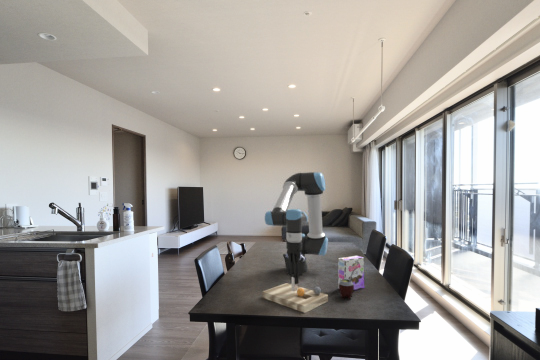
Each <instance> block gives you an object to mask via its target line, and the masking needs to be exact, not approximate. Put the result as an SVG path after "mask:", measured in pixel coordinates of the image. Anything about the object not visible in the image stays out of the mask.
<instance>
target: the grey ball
mask: <svg viewBox="0 0 540 360" xmlns="http://www.w3.org/2000/svg"><path fill="white" fill-rule="evenodd" d="M312 290H313V291H314V293H315V294H316V295H319V294H320V293H322V288H320V286H314V288H313V289H312Z"/></svg>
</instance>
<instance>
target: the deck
mask: <svg viewBox="0 0 540 360" xmlns="http://www.w3.org/2000/svg"><path fill="white" fill-rule="evenodd" d="M299 288H302V289H304V291H305V294H304V295H303V296H299V295H298V294H297V291H292V283H288V282H286V283H282V284H279V285H277V286H274V287H272V288H268V289H266V290H263V291H262V299H266V300H267V301H271V302H273V303H276V304H279V305H281V306H285V307H286V308H287V307H288V308H290V309H293V310H294V311H295V310H296V311H298V312H301V313H302V314H303V313H304V314H306V313H309V311H312V310H314V309H316V308H319V306H321V305H324V304H326V303H328V302H329V295H328V294H326V293H323V292H321V293H320V294H319V295H316V294H315V293H314V291H313V290H314V289H309V288H306V287H301V286H298V289H299Z"/></svg>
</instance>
